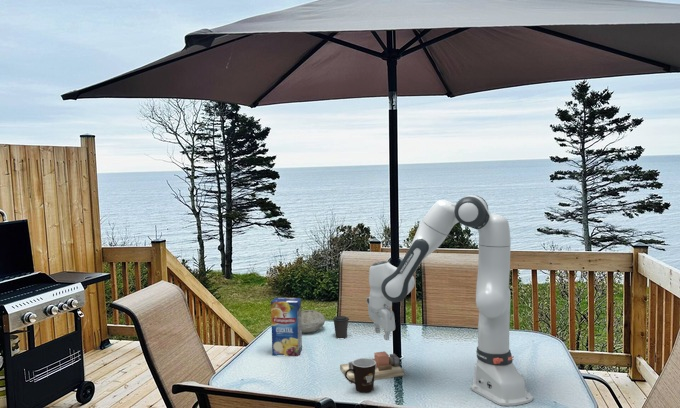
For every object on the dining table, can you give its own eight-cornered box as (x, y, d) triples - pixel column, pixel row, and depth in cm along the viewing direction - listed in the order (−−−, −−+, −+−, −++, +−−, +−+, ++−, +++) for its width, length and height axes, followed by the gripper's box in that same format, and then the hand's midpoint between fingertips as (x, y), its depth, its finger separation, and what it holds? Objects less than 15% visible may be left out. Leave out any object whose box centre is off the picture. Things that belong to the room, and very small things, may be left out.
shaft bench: (404, 375, 190) (403, 362, 190) (350, 383, 184) (350, 369, 184) (390, 362, 204) (390, 349, 203) (340, 369, 197) (340, 356, 197)
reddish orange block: (389, 367, 193) (388, 355, 193) (378, 368, 192) (378, 356, 192) (384, 363, 198) (384, 351, 198) (374, 364, 197) (374, 352, 196)
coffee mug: (374, 383, 183) (374, 357, 183) (377, 393, 175) (377, 366, 174) (344, 384, 183) (343, 358, 182) (345, 394, 174) (344, 367, 174)
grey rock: (287, 327, 255) (287, 308, 254) (320, 323, 260) (319, 305, 259) (294, 337, 238) (294, 317, 237) (329, 333, 243) (329, 313, 242)
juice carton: (272, 355, 215) (270, 301, 213) (276, 349, 222) (275, 297, 221) (298, 356, 213) (297, 302, 211) (302, 350, 220) (301, 298, 219)
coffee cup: (330, 335, 239) (329, 316, 239) (345, 333, 243) (344, 313, 242) (337, 340, 232) (336, 320, 231) (352, 338, 235) (352, 317, 235)
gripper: (398, 307, 184) (399, 342, 185) (379, 295, 204) (380, 328, 205) (383, 309, 183) (384, 345, 183) (364, 297, 202) (366, 329, 203)
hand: (382, 336), depth 194 cm, fingers open, 8 cm apart
